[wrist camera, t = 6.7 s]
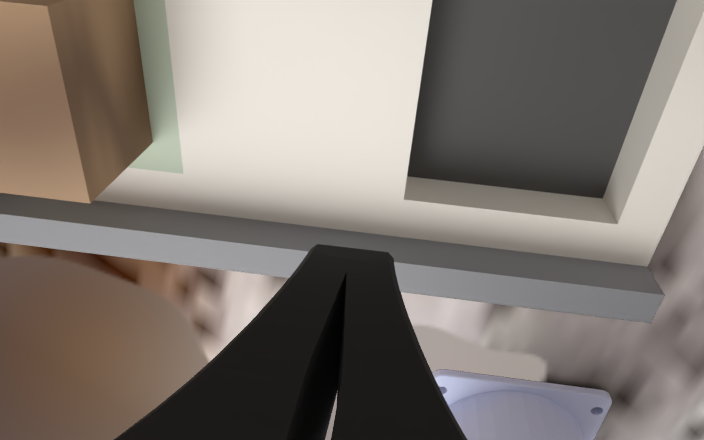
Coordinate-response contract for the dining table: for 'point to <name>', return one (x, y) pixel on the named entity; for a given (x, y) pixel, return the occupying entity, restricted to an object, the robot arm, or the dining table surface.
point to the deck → (408, 144)
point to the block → (69, 97)
